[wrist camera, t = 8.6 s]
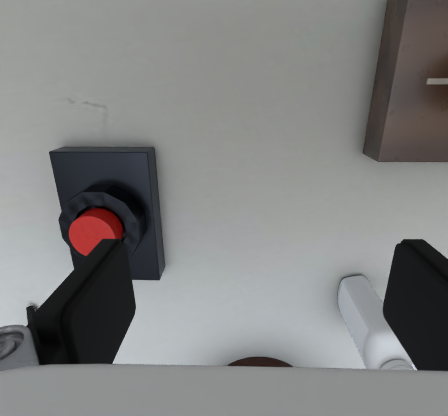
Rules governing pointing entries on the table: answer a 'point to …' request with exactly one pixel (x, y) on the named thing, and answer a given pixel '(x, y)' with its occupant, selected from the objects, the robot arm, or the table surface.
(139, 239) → the button box
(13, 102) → the table surface
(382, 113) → the panel
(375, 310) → the eye dropper bottle
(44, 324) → the robot arm
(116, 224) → the button
